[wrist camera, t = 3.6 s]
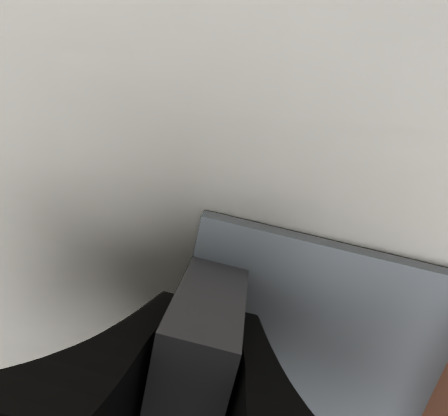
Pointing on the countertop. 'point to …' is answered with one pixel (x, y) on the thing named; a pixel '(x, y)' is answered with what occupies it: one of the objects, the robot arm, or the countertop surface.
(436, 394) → the terracotta block
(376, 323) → the slate strip
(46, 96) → the countertop surface
